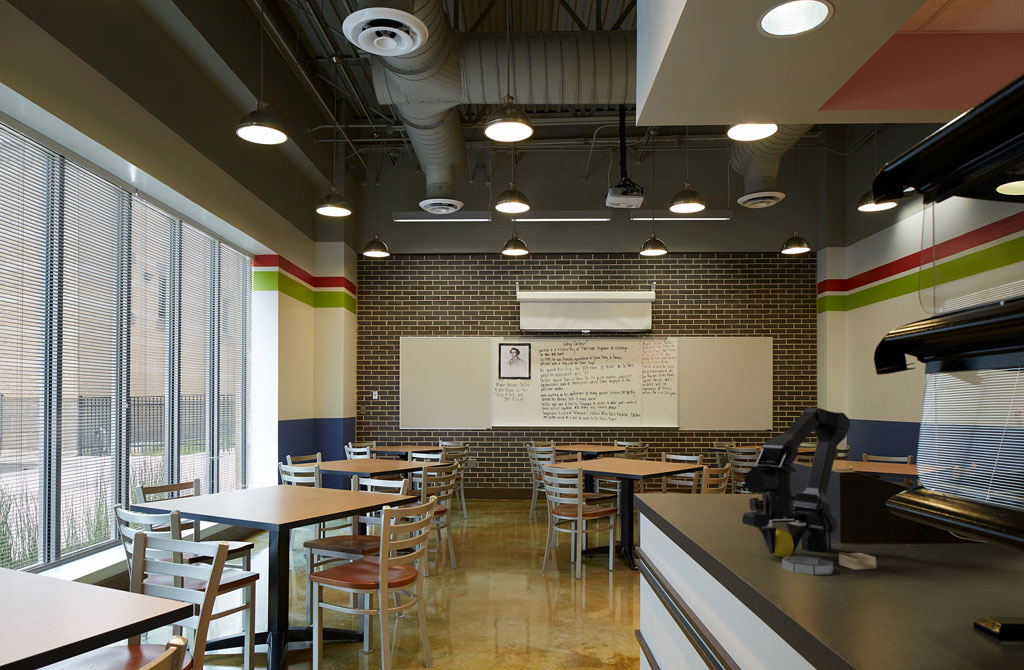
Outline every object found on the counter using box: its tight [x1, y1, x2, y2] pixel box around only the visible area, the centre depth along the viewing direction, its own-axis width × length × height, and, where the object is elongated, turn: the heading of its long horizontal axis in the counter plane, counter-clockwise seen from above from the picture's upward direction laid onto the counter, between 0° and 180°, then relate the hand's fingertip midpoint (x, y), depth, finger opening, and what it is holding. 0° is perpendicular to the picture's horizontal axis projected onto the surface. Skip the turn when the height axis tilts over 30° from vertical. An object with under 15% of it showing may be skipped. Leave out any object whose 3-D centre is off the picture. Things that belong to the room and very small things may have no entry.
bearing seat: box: [781, 555, 834, 576], centre depth 157 cm, size 10×10×2 cm
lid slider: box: [838, 551, 877, 571], centre depth 160 cm, size 6×5×3 cm
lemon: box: [773, 527, 794, 558], centre depth 171 cm, size 6×6×8 cm
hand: (782, 553), depth 171 cm, fingers closed on lemon, 5 cm apart
